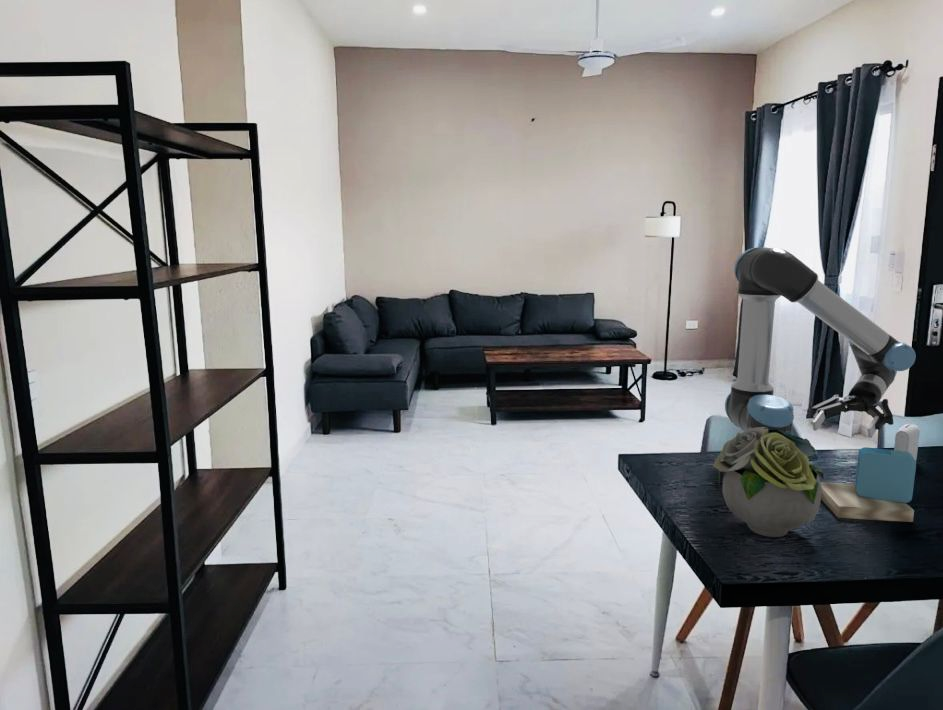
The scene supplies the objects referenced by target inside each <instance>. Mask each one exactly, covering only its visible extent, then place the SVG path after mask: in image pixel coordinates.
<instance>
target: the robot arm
mask: <svg viewBox="0 0 943 710" xmlns="http://www.w3.org/2000/svg"><path fill="white" fill-rule="evenodd" d="M733 268H734V269H733V270H734V271H733V272H734V276H735V278H736V280H737V282H738V289H737V290H738V291H737V295H738V296H739V297H740V298H741V299H742V311H741V312H742V313H741V322H740V339H739V351H738V354H739V355H738V367H737V378H736V380H735V381H734V382H732V383H731V384H730V385H731V386H730V387H731V388H730V392H729V394H728V395H727V396H726V398H725V402H724V410H725V414H726V416H727V418H728V419H729V420H730V422H731V424H734V426H736V427H737V428H739V429H740V430H741V431H743V432H745V431H746V430H747V429H748V428H749V427H751V428H756V427H767V428H764V429H768V430H769V429H770V430H780V431H784V432H786V431H788V432H789V431H791V430H792V431H793V423H794V419H795V415H794V407H793V404H792V403H791V402H790V401H788V400H787V399H785V398H783V397H779V396H777V395H774V389H775V388H774V386H773V385H772V384H771V383H770V382H769V380H770V379H769V378H770V367H771V356H772V353H771V352H772V343H773V342H772V341H773V332H774V318H775V305H776V301H777V300H778V299H779V298H780V297H784V298H785V299H786V300H788V301H789V302H791V303H798V304H799V305H801V307H804V308H805V309H806V310H808V311H809V312H811V314H813V315H814V316H816V317H817V318H818V319H819V320H821V322H823V323H825V324H826V325H827V326H829V327H830V328H832V329H833V330H834V331H836V332H837V333H838V334H839V335H841V336H842V337H843V338H845V339H846V340H847V341H848V344H849V346H850V348H851V349H850V350H851V351H852V354H853V356H854V358H855V361H856V363H857V366H858V370H859V371H860V377H859V378H858V380H857V381H855V382H856V383H855V384H854V385H853V386H852V388H851V389H850V390H849V392H848V395H847V396H844V397H840V395H839V394H834V395H833V396H832V397H831V398H829V399H826V400H824V401H822V402H819V403H817V404H816V405H814V406H812V407H811V413H812V416H813V420H812V423H811V424H812V430H813V432H814V431H817V430H818V429H819V428H820V427H821V425H822V424H823V422H824V421H825V420H826V417H830V416H832V415H836V414H840V413H848V412H851V411H852V412H859V413H861V412H862V413H863V412H865V413H866V414H867V415H868V416H871V417H872V418H873V419H872V420H871V421H870V424H869V425H868V427H867V428H866V429H867V430H866V431H867V437H868V438H872V437H873V436H874V434H875V433H876V431H877V430H878V431H880V430H881V429H882V428H883V427H884V425H886V424H888V425H890V426H892V425H894V415H893V413H892V411H891V409H890V407H889V400H888V398H883V396H884V394H885V393H886V391H887V390H888V389H889V388H890V386H891V385H892V384H893V383H894V381H895V379H896V376H897V372H904V371H907V370H908V369H910V368H911V367H913V365H914V364H915V361H916V359H917V358H916V356H917V355H916V351H915V350H914V348H913V347H912V346H910V345H909V344H906V343H905V342H900V341H898V340H897V339H896V338H895V337H893V335H891V334H889V333H888V332H887V331H885V330H884V329H883V328H881V326H878V324H876V323H875V322H874V321H872V320H871V319H870V318H868V316H866V315H864V314H863V313H862V312H860V311H859V310H858V309H856V308H855V307H854V306H853V305H852V304H850V303H849V302H847V301H846V300H845V299H844V298H843V297H841V296H840V295H838V294H837V293H836V292H835V291H833V290H832V289H830V288H829V287H828V286H827V285H825V284H824V283H822V282H821V280H819V275H818V273H816V272H815V271H814V270H813V269H811V268H810V267H809V266H808V265H807V264H805V263H804V262H802V261H801V260H800V259H798V258H797V257H796V256H795V255H794V254H792V253H791V252H789V251H787V250H785V249H782V248H776V247H766V246H765V247H764V246H757V247H753V248H752V247H751V248H749V249H746V250H745V251H743V253H741V254H740V255H739V256H738V257H737V259H736V261H735V263H734V266H733ZM882 398H883V399H882ZM881 399H882V400H881ZM877 407H878V408H880V410H881V411H882V412H881V411H880V410H879V409H877ZM786 433H787V432H786Z"/></svg>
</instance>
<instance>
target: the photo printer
mask: <svg viewBox="0 0 943 710" xmlns="http://www.w3.org/2000/svg"><path fill="white" fill-rule="evenodd" d="M920 433H921V430H920V428H919V426H917V425H916V424H911V423H906V424H904V425H902V426H900V428H899V429H898V430H897V431H896V433H895V437H894V447H893V448H894V449H893V450H894V451H903V452H909V453H911V454H912V455H913V457H914V459H915V461H916V462H917V459H918V449H919V440H920Z"/></svg>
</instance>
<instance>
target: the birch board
mask: <svg viewBox="0 0 943 710" xmlns="http://www.w3.org/2000/svg"><path fill="white" fill-rule="evenodd" d="M821 489H822V493H821V501H822V502H823V503H824V504H825V505H826V506H827V507H828V509H829V510H830V511H831V512H832V513H833V515H835V517H837V519H852V520H853V519H855V520H872V521H888V522H903V523H904V522H906V523H907V522H908V523H909V522H910V523H913V522H914V515H915V514H914V513H915V510H914V509H913V508H912V507H911V506H910V505H909V504H907V503H901V502H894V501H886V500H879V499H872V498H865V497H861V496H859V495H858V493H857V491H856V487H855V483H850V482H849V483H845V482H826V481H824V482H823V481H821Z"/></svg>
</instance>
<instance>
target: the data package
mask: <svg viewBox="0 0 943 710" xmlns="http://www.w3.org/2000/svg"><path fill="white" fill-rule="evenodd" d="M857 455H858V456H857V465H856V474H855V483H854V484H855V487H856V491H857V493H858V495H859V496H861V497H865V498H872V499H879V500H886V501H894V502H901V503H906V504H907V503H909V502H911V501H912V499H913V492H914V485H915V478H916V477H915V476H916V470H917V460H916V461H915V459H914V457H913V455H912V454H911V453H909V452H903V451H894V449H893V450H892V449H886V448H885V449H884V448H876V447H862V448H860V449H859V451H858V454H857Z"/></svg>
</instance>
